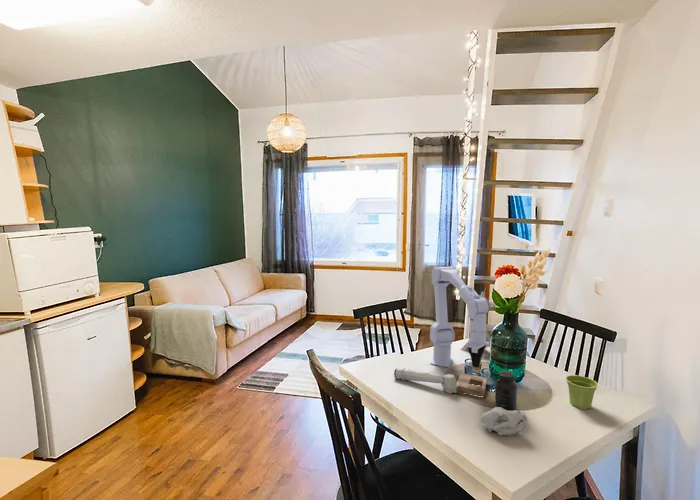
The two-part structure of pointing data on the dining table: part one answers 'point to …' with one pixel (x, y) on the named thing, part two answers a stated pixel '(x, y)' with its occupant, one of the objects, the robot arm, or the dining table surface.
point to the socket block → (468, 380)
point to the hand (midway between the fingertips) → (476, 364)
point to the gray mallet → (429, 379)
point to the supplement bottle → (506, 391)
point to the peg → (476, 368)
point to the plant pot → (581, 390)
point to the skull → (504, 420)
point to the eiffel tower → (465, 347)
